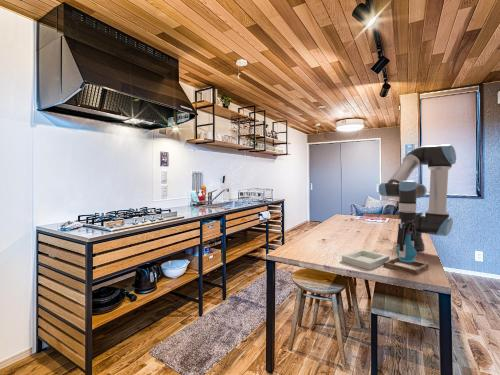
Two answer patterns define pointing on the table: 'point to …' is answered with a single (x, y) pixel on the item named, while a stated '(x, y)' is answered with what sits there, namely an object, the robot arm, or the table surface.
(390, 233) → the table surface
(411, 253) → the teal vase
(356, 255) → the tray
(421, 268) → the frame
